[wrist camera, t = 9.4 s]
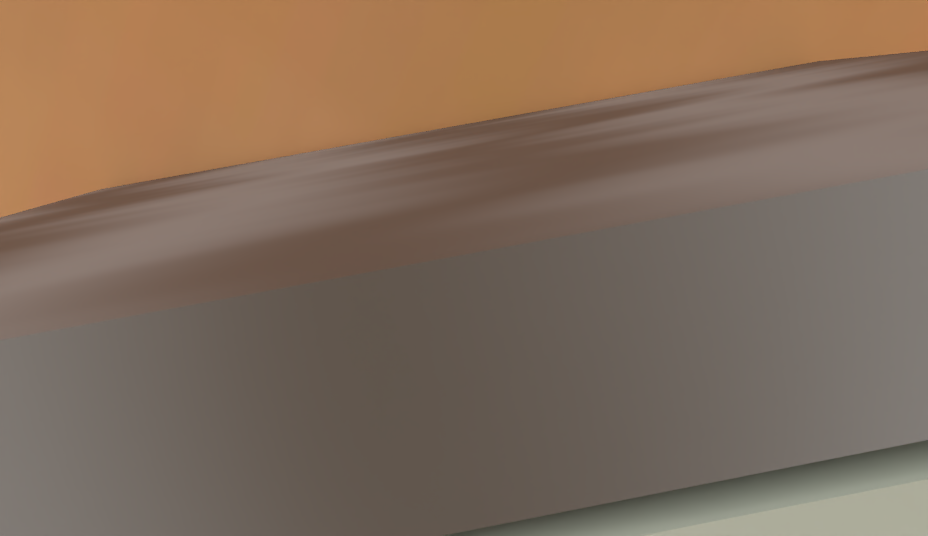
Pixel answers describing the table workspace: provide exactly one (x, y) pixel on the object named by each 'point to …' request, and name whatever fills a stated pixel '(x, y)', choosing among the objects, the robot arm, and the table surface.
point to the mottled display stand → (477, 316)
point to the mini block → (765, 503)
